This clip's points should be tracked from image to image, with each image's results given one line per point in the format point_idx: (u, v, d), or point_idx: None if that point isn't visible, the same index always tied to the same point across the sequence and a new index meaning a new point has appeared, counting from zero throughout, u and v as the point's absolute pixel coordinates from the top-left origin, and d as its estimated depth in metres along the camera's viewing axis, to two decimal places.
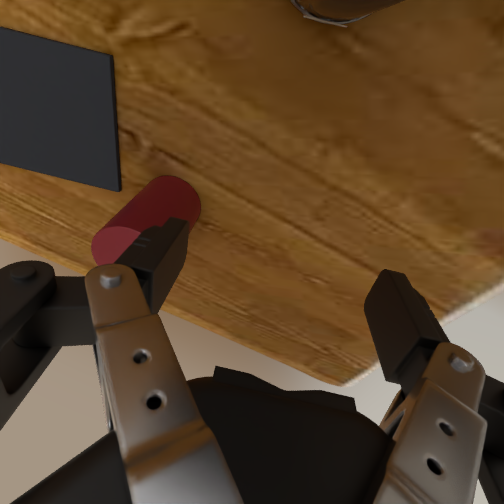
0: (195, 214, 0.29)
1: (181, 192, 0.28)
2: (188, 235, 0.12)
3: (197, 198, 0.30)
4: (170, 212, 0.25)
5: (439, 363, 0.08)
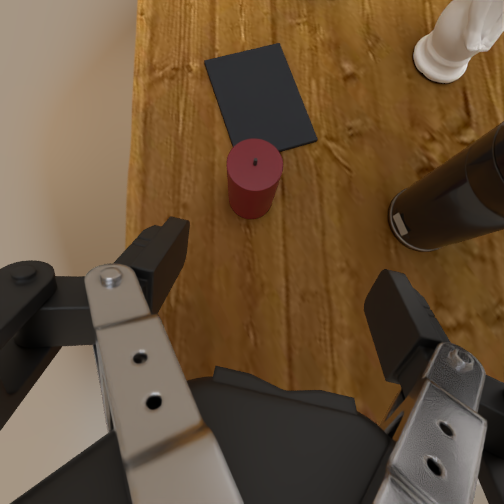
0: (262, 212, 0.38)
1: None
2: (188, 235, 0.12)
3: (266, 211, 0.40)
4: None
5: (439, 363, 0.08)
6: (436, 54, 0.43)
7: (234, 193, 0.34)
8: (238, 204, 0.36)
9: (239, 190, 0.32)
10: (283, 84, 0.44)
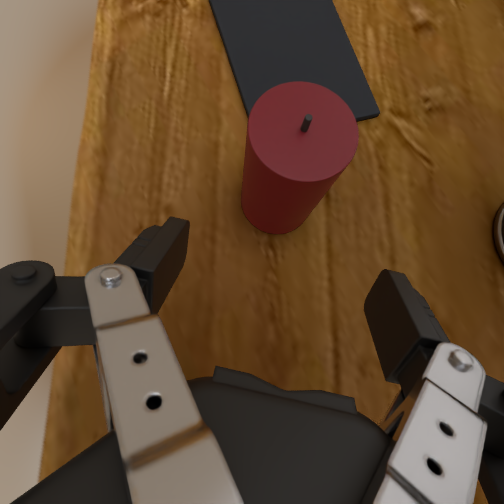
0: (297, 223, 0.23)
1: None
2: (188, 235, 0.12)
3: (302, 222, 0.25)
4: None
5: (439, 363, 0.08)
6: None
7: (257, 188, 0.18)
8: (261, 210, 0.20)
9: (270, 180, 0.16)
10: (326, 30, 0.29)
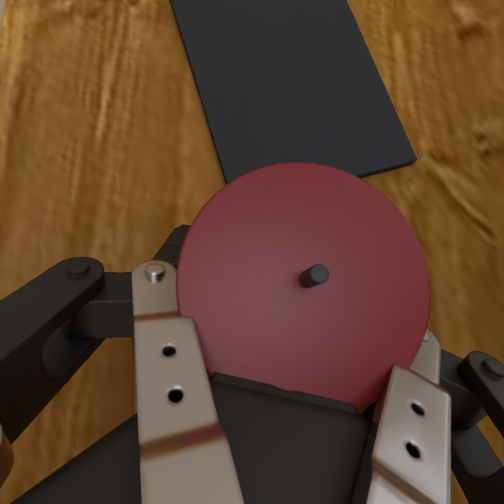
0: None
1: None
2: None
3: None
4: None
5: None
6: None
7: None
8: None
9: None
10: (337, 37, 0.20)
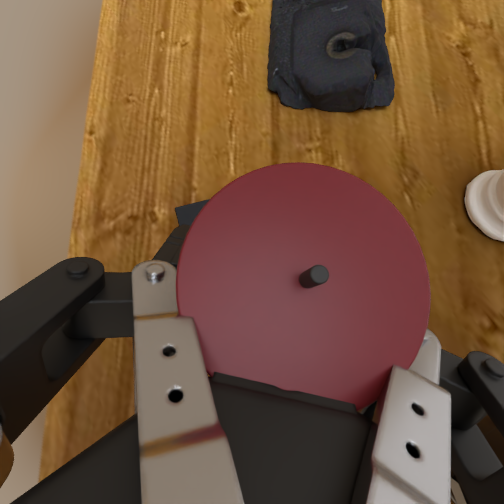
0: None
1: None
2: None
3: None
4: None
5: None
6: (502, 212, 0.31)
7: None
8: None
9: None
10: None
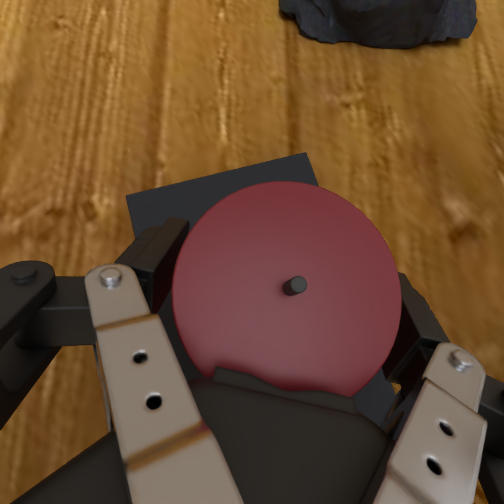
0: None
1: None
2: None
3: None
4: None
5: (439, 363, 0.08)
6: None
7: None
8: None
9: None
10: None
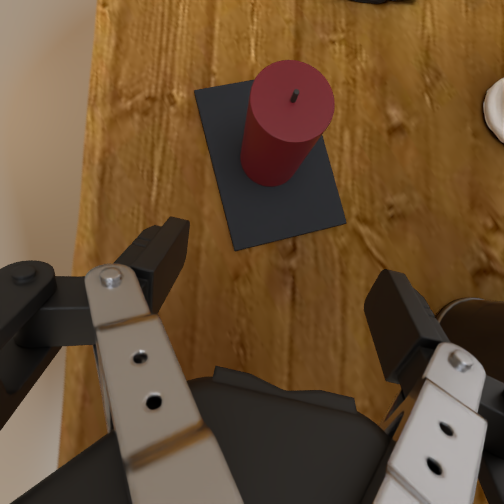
0: (285, 178, 0.28)
1: None
2: (188, 235, 0.12)
3: None
4: None
5: (439, 363, 0.08)
6: None
7: (254, 145, 0.23)
8: (257, 164, 0.26)
9: (265, 140, 0.21)
10: None
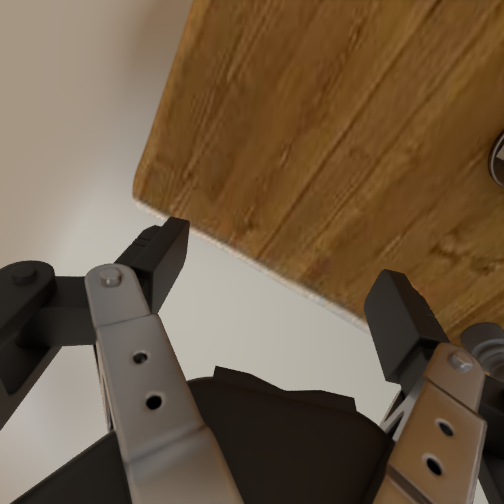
0: None
1: None
2: (188, 235, 0.12)
3: None
4: None
5: (439, 363, 0.08)
6: None
7: None
8: None
9: None
10: None
